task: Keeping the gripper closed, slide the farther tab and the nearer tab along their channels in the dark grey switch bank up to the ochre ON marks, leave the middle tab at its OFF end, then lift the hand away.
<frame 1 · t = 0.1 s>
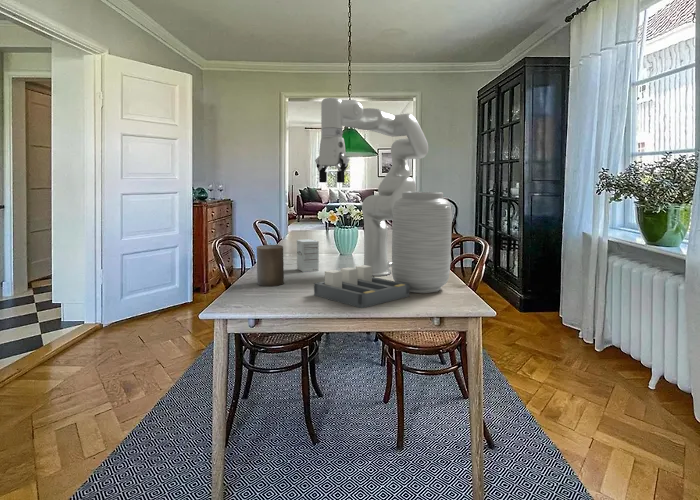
hand: (331, 182, 176), 37 cm above the table, fingers open, 9 cm apart
tab 1: (333, 282, 158), point 5 cm above the table, slide at 0.0 cm
pillar candle: (270, 284, 177), on the table
tab middle: (349, 279, 163), point 5 cm above the table, slide at 0.0 cm
supplement box: (307, 270, 204), on the table
switch bank: (361, 295, 159), on the table
vase: (420, 289, 170), on the table
tab 2: (363, 276, 167), point 5 cm above the table, slide at 0.0 cm
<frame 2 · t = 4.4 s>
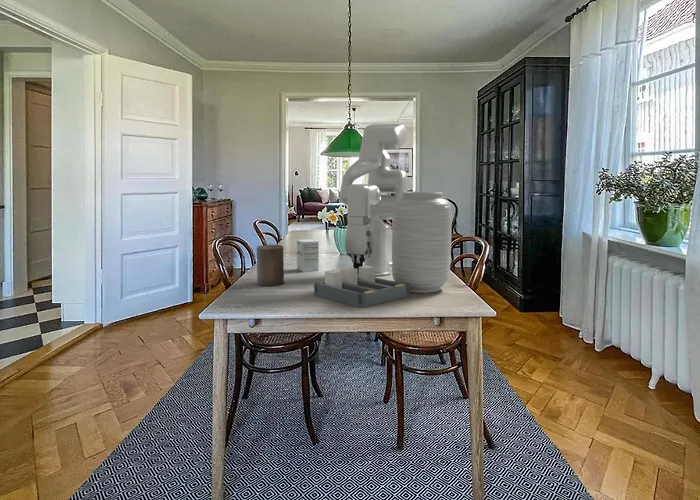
hand: (358, 273, 169), 5 cm above the table, fingers closed
tab 2: (366, 277, 166), point 5 cm above the table, slide at 1.5 cm, touching gripper
everything else where it was.
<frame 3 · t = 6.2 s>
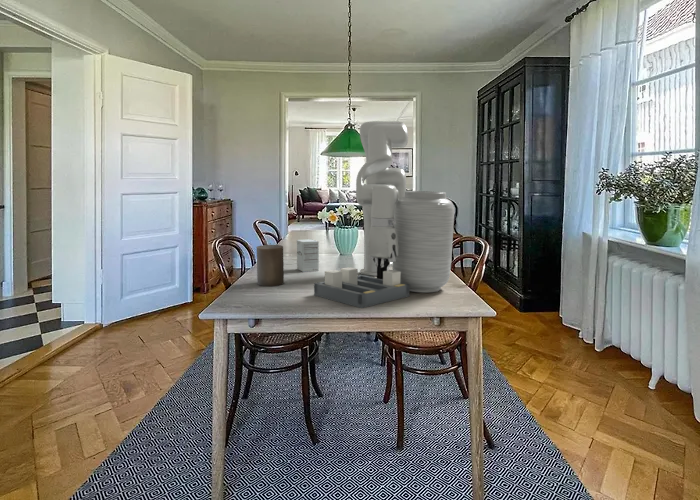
hand: (381, 278, 161), 5 cm above the table, fingers closed
vase: (420, 288, 170), on the table, touching arm
tab 2: (391, 282, 158), point 5 cm above the table, slide at 12.8 cm, touching gripper
everything else where it was.
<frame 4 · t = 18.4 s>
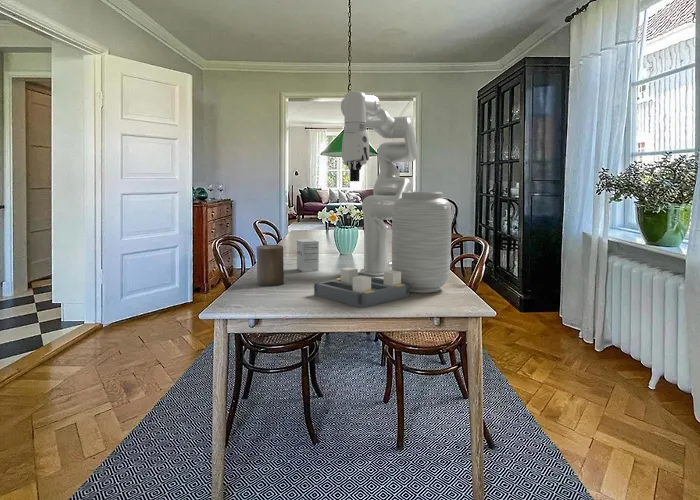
hand: (354, 181, 173), 37 cm above the table, fingers closed
tab 1: (361, 288, 149), point 5 cm above the table, slide at 13.0 cm
vase: (420, 289, 170), on the table
tab 2: (392, 282, 158), point 5 cm above the table, slide at 13.0 cm
everything else where it was.
at the end: tab 2 slide at 13.0 cm; tab 1 slide at 13.0 cm; tab middle slide at 0.0 cm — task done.
